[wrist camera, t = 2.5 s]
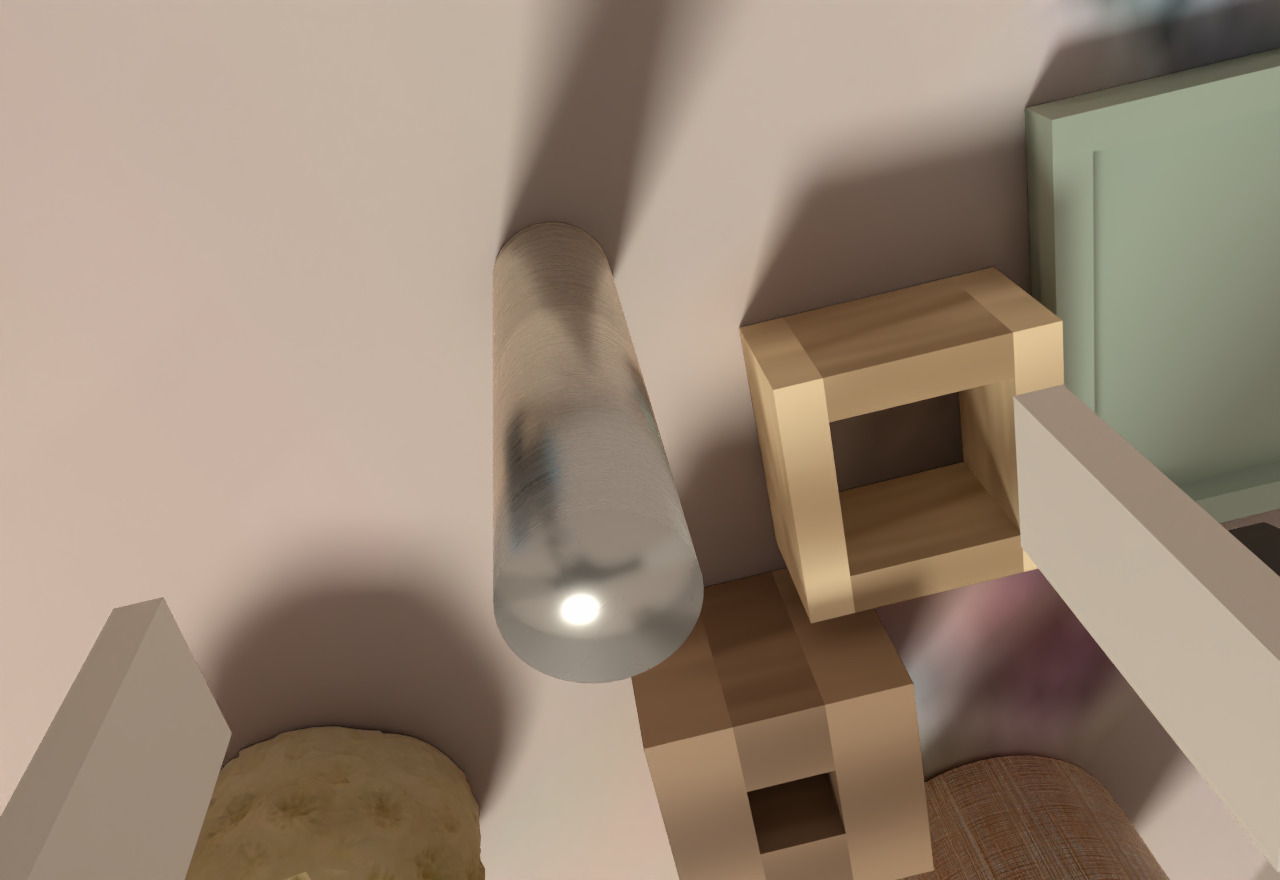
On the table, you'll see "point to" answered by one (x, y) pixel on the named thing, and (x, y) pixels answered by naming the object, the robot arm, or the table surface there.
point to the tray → (1170, 269)
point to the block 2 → (785, 743)
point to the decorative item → (340, 812)
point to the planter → (1030, 825)
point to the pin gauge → (580, 473)
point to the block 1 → (884, 378)
